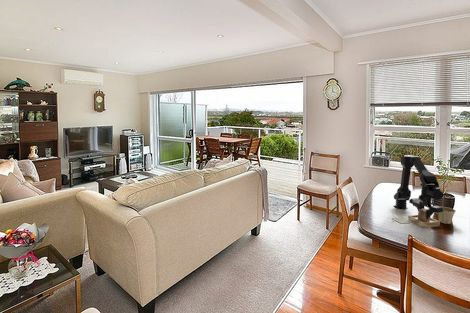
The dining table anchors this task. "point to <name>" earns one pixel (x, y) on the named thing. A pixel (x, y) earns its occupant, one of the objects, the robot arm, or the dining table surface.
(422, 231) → the dining table surface
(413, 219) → the oak box
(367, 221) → the dining table surface
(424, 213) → the walnut block
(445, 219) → the flower pot
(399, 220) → the pad
